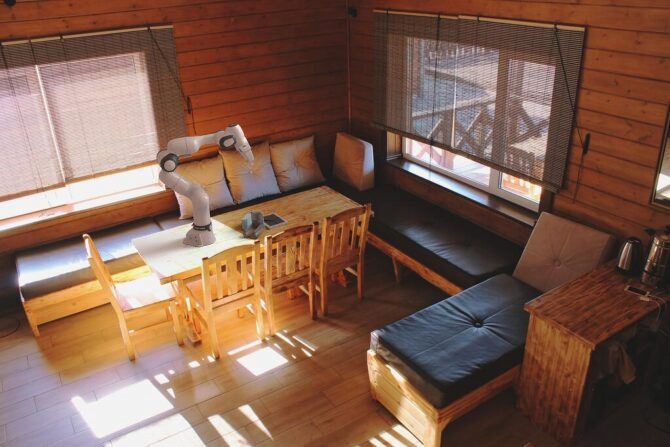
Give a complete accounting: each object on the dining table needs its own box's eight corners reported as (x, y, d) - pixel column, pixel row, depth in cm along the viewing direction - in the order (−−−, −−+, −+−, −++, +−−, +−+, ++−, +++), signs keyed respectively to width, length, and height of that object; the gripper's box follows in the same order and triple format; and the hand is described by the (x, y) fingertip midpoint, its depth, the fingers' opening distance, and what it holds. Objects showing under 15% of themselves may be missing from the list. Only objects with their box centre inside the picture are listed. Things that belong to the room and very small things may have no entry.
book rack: (243, 237, 402) (241, 220, 396) (252, 228, 415) (250, 211, 409) (257, 239, 400) (255, 221, 394) (265, 229, 413) (263, 212, 407)
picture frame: (256, 220, 428) (269, 230, 412) (255, 217, 427) (269, 226, 411) (274, 214, 436) (288, 224, 420) (274, 211, 434) (288, 220, 419)
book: (242, 229, 414) (241, 219, 411) (248, 223, 423) (247, 213, 420) (247, 230, 413) (245, 220, 410) (253, 223, 423) (252, 213, 419)
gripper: (233, 143, 392) (241, 161, 400) (242, 151, 376) (251, 169, 383) (241, 139, 394) (249, 156, 401) (251, 147, 377) (259, 165, 384)
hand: (250, 163), depth 392 cm, fingers open, 8 cm apart
